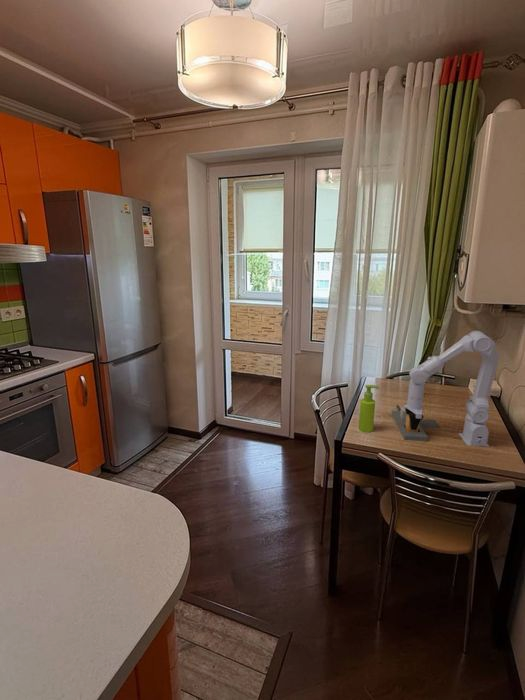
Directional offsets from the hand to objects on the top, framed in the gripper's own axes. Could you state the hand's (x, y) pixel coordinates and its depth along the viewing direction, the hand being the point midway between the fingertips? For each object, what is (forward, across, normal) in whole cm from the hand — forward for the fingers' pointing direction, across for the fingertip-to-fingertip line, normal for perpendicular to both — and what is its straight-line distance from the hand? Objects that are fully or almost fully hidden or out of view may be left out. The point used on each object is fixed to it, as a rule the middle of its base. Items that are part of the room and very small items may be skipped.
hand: (412, 426), depth 154 cm
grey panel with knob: (+3, -9, 0) cm, 9 cm away
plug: (+2, 0, 0) cm, 2 cm away
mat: (+3, -9, +10) cm, 13 cm away
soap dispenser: (+3, -1, -18) cm, 18 cm away
